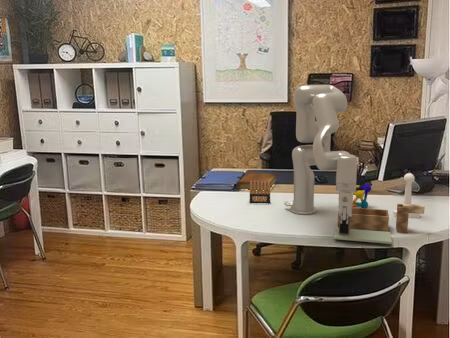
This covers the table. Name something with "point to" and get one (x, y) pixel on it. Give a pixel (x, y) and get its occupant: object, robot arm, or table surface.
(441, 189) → the table surface
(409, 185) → the joystick
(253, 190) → the ammunition clip
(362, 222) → the brown wooden open box
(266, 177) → the diary
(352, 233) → the lid
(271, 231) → the table surface
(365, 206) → the molecular model
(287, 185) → the table surface
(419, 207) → the key
